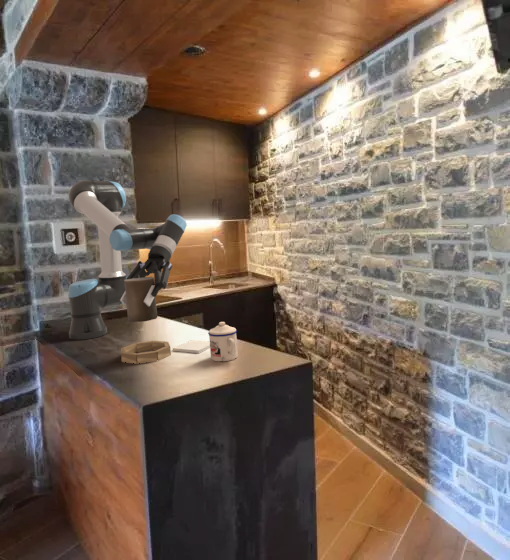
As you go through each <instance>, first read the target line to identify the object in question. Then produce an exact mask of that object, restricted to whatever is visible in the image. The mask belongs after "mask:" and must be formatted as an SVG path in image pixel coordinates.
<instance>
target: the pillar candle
mask: <svg viewBox="0 0 510 560" xmlns="http://www.w3.org/2000/svg"><path fill="white" fill-rule="evenodd" d="M124 282H125V293H126V305H125V306H126V312H127V314H126V315H127V321H128V322H132V323H138V322H139V323H140V322H149V321H153V320H157V319H158V310H157V309H158V307H157V300H156V299H157V298H156V297H157V296H156V297H154V299H153V301H152V303H151V305H150V306H147V305H146V304H145V303H144V300H145V298H146V296H147V294H148V292H149V290H150V288H151V286H152V285H154V284H153V283H154V276H146V277H141V278H140V277H139V278H132V279H126V280H124ZM154 286H155V285H154Z"/></svg>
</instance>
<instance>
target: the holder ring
mask: <svg viewBox="0 0 510 560" xmlns="http://www.w3.org/2000/svg"><path fill="white" fill-rule="evenodd" d="M171 355H172V353H171V345H170V342H169V341H163V340H162V341H161V340H147V341H139V342H134V343H130V344H129V345H126V346H123V347H120V359H121V362H122V363H125V362H126V363H125V364H133V363H134V365H135V364H136V365H138V364H139V363H140V364H146V362H147V363H153V362H158V361H161V360H164V359H165V358H168V357H170V356H171ZM157 360H158V361H157Z"/></svg>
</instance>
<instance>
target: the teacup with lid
mask: <svg viewBox="0 0 510 560" xmlns="http://www.w3.org/2000/svg"><path fill="white" fill-rule="evenodd" d="M237 332H238V330H237V329H236V327H234V326H233V327H232V326H229V325H228V324H226V322H225V321H220V322H219V323H218V325H216V326H215V327H213V328H210V329H209V331H208V335H209V341H210V348H209V350H210V359H211V360H212V361H215V362H219V361H223V362H229V361H233V360H236V359H237V358H238V357H239V354H238V340H237V339H238V338H237ZM235 358H236V359H235Z"/></svg>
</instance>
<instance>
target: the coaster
mask: <svg viewBox="0 0 510 560" xmlns="http://www.w3.org/2000/svg"><path fill="white" fill-rule="evenodd" d="M208 349H209V350H210V340H209V341H207V340H196V339H194V340H193V339H190V340H188V341H186V342H184V343H181V344H179V345H177V346H176V345H175V347H172V351H173V352H179V353H181V352H182V353H191V354H200V353H202V352H205V351H207V350H208Z"/></svg>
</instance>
